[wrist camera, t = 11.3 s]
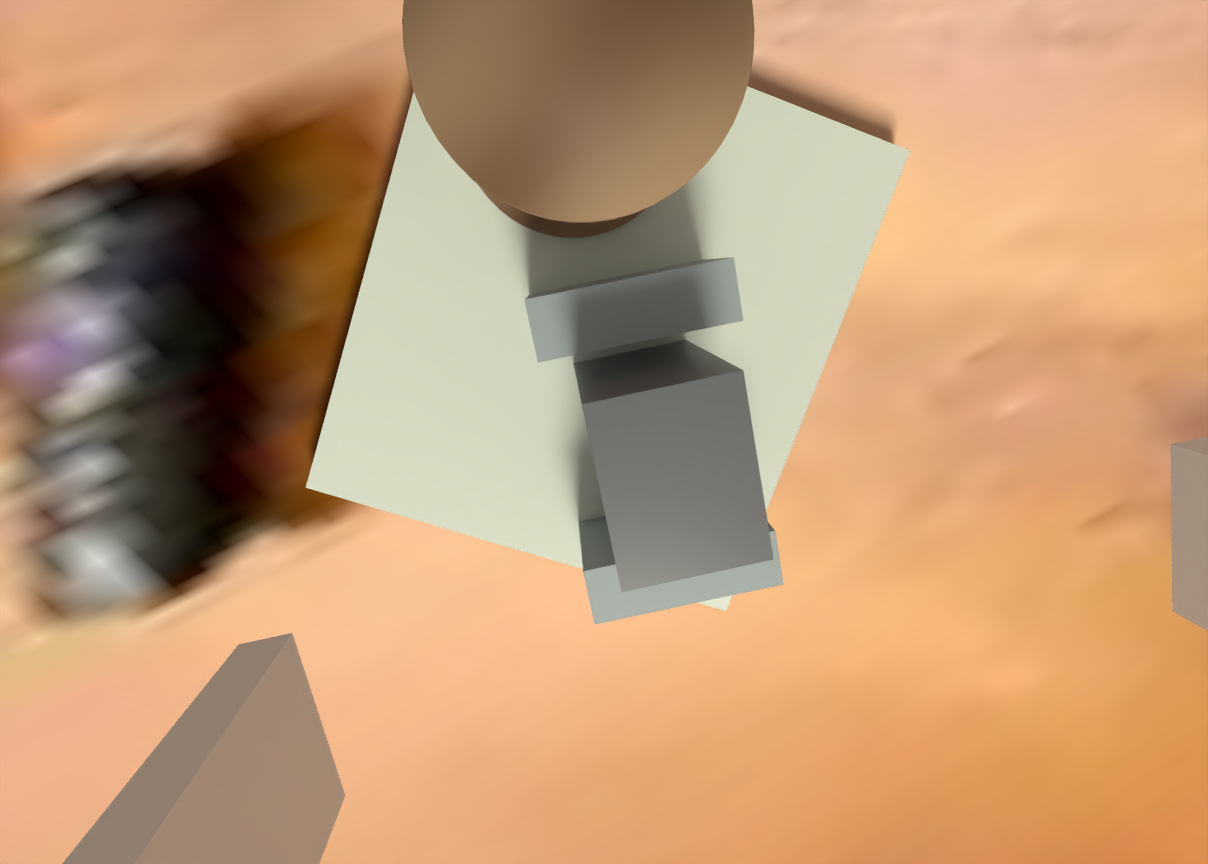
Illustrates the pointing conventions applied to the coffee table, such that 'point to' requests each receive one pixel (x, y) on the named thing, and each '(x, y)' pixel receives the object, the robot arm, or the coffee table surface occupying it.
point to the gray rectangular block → (674, 463)
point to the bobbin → (579, 99)
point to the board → (549, 389)
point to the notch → (625, 318)
